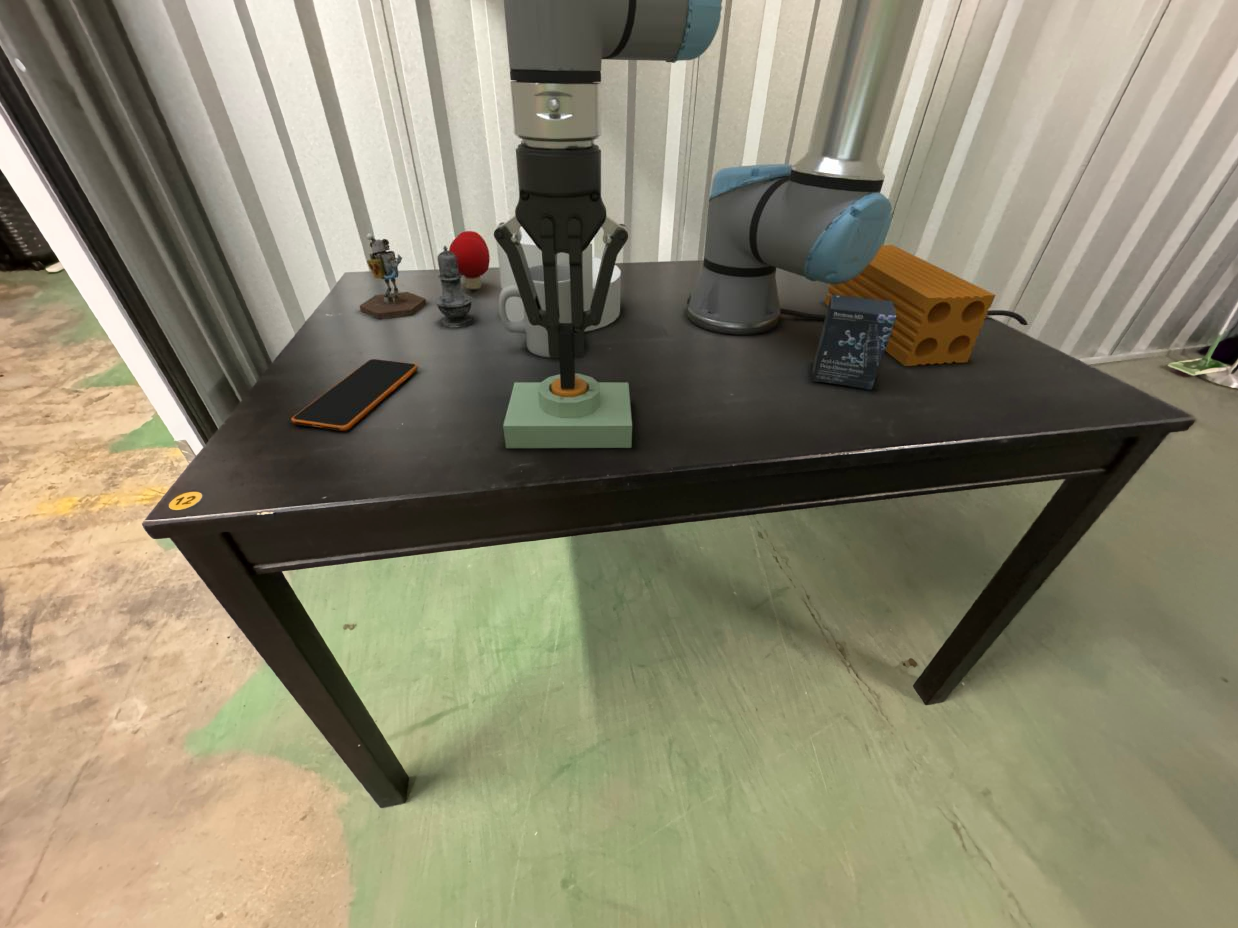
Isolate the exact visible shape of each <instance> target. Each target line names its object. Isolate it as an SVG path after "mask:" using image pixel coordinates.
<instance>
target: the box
mask: <svg viewBox="0 0 1238 928" xmlns="http://www.w3.org/2000/svg"><path fill="white" fill-rule="evenodd" d="M825 315H826V318H825V320H823V326H822V329H821V334H820V337H819V341H818V345H817V349H816V352H815V356H814V361H813V366H812V367H813V368H812V382H816V383H826V384H833V385H838V386H839V385H840V386H846V387H851V388H858V389H859V388H860V389H864V390H869V391H872V390H873V388H874V385H875V382H876V379H877V377H878V373H879V371H880V367H881V364H882V361H883V358H884V355H885V352H886V351H885V349H886V346H887V343H888V340H889V337H890V334H891V331H892V328H893V325H894V322H895V319H896V313H895V309H894V305H893V301H888V300H877V299H868V298H859V297H850V296H842V295H838V294H832V295H831V298H830V302H829V306H827V310H826V314H825Z"/></svg>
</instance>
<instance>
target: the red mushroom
mask: <svg viewBox="0 0 1238 928" xmlns="http://www.w3.org/2000/svg"><path fill="white" fill-rule="evenodd" d="M448 251H449V252H452V253H454V254H455V255H456V257H457V264H458V270H459V273H460V274H461V275H462V277H464V279H465V280H464V281H465V285H466V286H465V288H467V289H469V290H470V291H471V292H477V291H478V290H479V289H480V288H481V287H482V283H481V276H483V275H484V274H486V273H487V272H488V270H489V267H490V262H491V261H490V259H491V258H490V250H489V246H488V245H487V243H486V240H485V239H484V238H483V236H482V235H481V234H479V233H478V232H477V231H473V230H466V231H465V230H464V231H462V232H460V233H459V234H458V235H457V237H455V238H454V239H453V240H452V242H451V243H450V245H449V248H448Z"/></svg>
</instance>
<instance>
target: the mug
mask: <svg viewBox="0 0 1238 928" xmlns="http://www.w3.org/2000/svg"><path fill="white" fill-rule="evenodd" d="M557 269H558V291H559V314H560V319H559V322H560V323H572V317H571V290H570V266H567V265H559V264H557ZM529 270H530V273H531V276H532V279H533V283H534V286H535V289H536V292H537V295H538V298H539V302H540V305H541V308H542V310H545V311H546V307H545V290H544V273H543V265H537V266H533V267H530V268H529ZM510 297H520V298H521V296H520V293H519V290H518V287H517V285H512V286H508V287H506V288H504V289H503V290H502V289H501V291H500V293H499V296H498V313H499V318H500V321H501V324H502V326H503V328H504V329H505V330H506V331H508V332H511V333H514V334H515V333H516V334H517V333H518V334H525V340H526V341H525V342H526V347H527V350H528V351H529V352H530V353H531V354H533V355H535V356H538V357H541V358H549V359H552V358H551V357H550V355H549V348H548V333H547V330H546V329H545V328H544V327H542V326H539V325H537V326H534V325H531V324H530V322H529V320H528V317H527V314H526V311H525V308H524V319H523V320H522V321H519V322H512V321H510V320H509V319H508V317H507V315H506V310H505V305H506V301H507V299H508V298H510ZM523 306H524V305H523Z"/></svg>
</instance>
